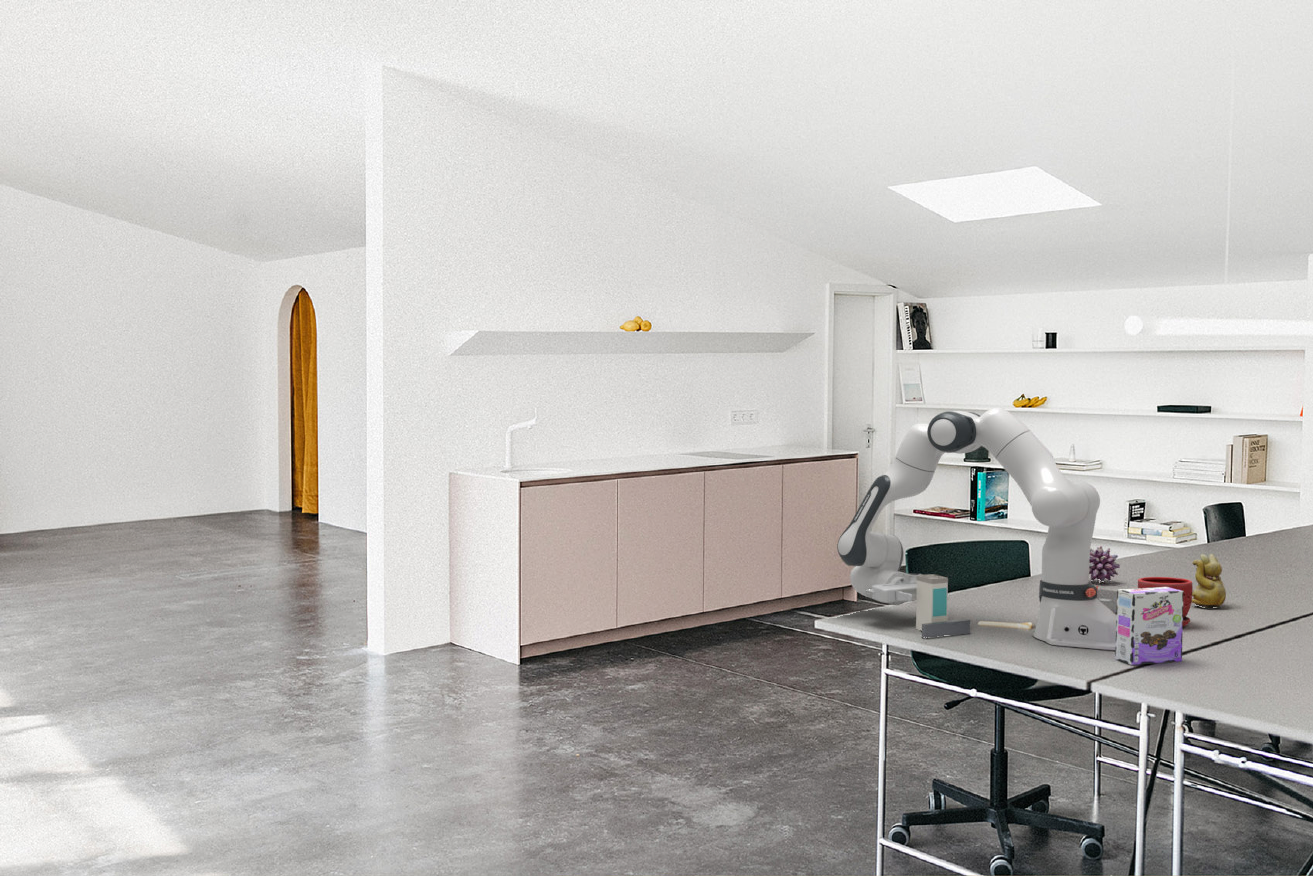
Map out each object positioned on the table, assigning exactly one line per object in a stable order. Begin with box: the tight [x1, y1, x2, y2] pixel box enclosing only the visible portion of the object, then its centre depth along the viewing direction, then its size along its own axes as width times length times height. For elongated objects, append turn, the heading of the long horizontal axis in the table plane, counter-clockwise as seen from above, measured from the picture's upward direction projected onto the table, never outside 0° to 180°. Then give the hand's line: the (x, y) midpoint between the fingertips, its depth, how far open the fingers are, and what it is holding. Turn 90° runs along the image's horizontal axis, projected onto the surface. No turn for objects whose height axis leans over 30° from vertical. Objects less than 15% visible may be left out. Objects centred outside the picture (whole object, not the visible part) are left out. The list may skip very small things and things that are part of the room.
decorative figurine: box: [1191, 553, 1227, 608], centre depth 321 cm, size 10×8×15 cm
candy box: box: [1114, 587, 1184, 666], centre depth 259 cm, size 14×6×16 cm, turn 105°
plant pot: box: [1137, 576, 1194, 627], centre depth 298 cm, size 13×13×12 cm
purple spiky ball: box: [1089, 545, 1121, 582], centre depth 359 cm, size 12×12×12 cm
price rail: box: [921, 618, 971, 638], centre depth 285 cm, size 2×14×4 cm, turn 115°
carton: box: [915, 573, 949, 630], centre depth 289 cm, size 5×6×14 cm
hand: (927, 596), depth 291 cm, fingers open, 8 cm apart
